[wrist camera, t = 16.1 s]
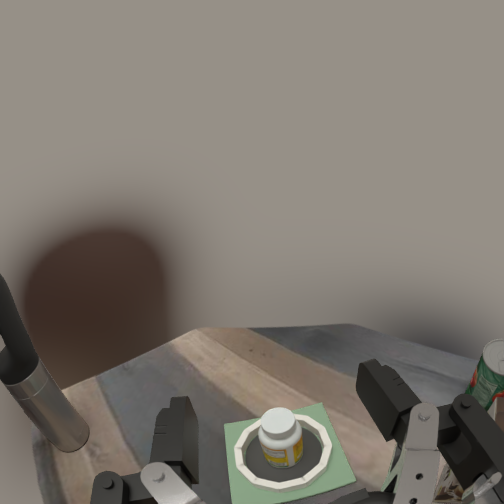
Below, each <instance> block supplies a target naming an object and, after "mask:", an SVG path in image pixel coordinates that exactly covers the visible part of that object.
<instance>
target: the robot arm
mask: <svg viewBox="0 0 504 504" xmlns="http://www.w3.org/2000/svg"><path fill="white" fill-rule="evenodd" d="M0 334H1V336H2V338H3V340H4V343H5V345H6V346H5V347H4V349H3V350H2V351H1V352H0V380H1V381H2V382H3V384H4V385H5V387H6V388H7V390H8V391H9V392H10V394H11V395H12V396H13V398H14V399H15V400H16V401H17V403H18V404H19V405H20V407H21V408H22V409H23V411H24V413H25V414H26V415H27V416H28V418H29V419H30V420H31V421H32V422H33V423H34V424H35V426H36V427H37V428H38V429H39V430H40V431H41V432H42V433H43V434H44V435H45V436H46V437H47V438H48V440H49V441H50V442H51V443H53V444H54V445H55V446H56V447H57V448H59V449H60V450H62V451H65V452H71V451H75V450H77V449H79V448H80V447H82V446H83V445H84V443H85V442H86V440H87V438H88V435H89V428H88V425H87V423H86V422H85V421H84V420H83V419H82V417H81V416H80V415H79V414H78V413H77V411H76V410H75V409H74V407H73V406H72V405H71V404H70V402H69V401H68V400H67V398H66V397H65V395H64V394H63V393H62V391H61V390H60V389H59V387H58V386H57V384H56V383H55V381H54V380H53V378H52V377H51V375H50V374H49V372H48V371H47V369H46V368H45V366H44V364H43V363H42V361H41V360H40V358H39V356H38V354H37V353H36V351H35V349H34V347H33V345H32V342H31V340H30V337H29V335H28V334H27V331H26V329H25V327H24V325H23V323H22V320H21V318H20V316H19V313H18V311H17V308H16V305H15V303H14V300H13V297H12V295H11V293H10V290H9V288H8V286H7V283H6V282H5V280H4V278H3V277H2V275H1V274H0ZM356 391H357V394H358V396H359V398H360V399H361V401H362V403H363V404H364V406H365V407H366V409H367V411H368V412H369V414H370V416H371V417H372V419H373V420H374V422H375V424H376V425H377V427H378V429H379V430H380V432H381V433H382V435H383V437H384V438H385V440H386V442H387V441H390V440H392V439H395V440H396V445H395V448H394V453H393V457H392V460H391V464H390V468H389V471H388V475H387V477H386V480H385V482H384V484H383V486H382V489H381V491H374V492H367V491H366V489H365V488H364V489H361V490H359V491H356V492H353V493H350V494H348V495H345V496H342V497H340V498H338V499H336V500H335V501H333V502H331V503H329V504H432V500H433V496H434V491H435V486H436V481H437V475H438V468H439V461H440V452H441V454H442V455H443V457H444V458H445V460H446V462H447V463H448V465H449V467H450V468H451V470H452V472H453V473H454V475H455V477H456V478H457V480H458V482H459V483H460V485H461V487H462V489H463V490H464V493H463V495H462V502H461V504H504V432H503V431H502V430H501V428H500V427H499V426H498V425H497V423H496V422H495V421H494V420H493V419H492V417H491V416H490V415H489V414H488V413H487V411H486V410H485V409H484V408H483V407H482V405H481V404H480V403H479V402H478V401H477V400H476V399H475V398H474V397H473V396H472V395H470V394H460V395H458V396H457V397H456V398H455V399H454V401H453V403H452V404H448V405H444V406H440V407H435V406H434V405H432V404H430V403H422V402H421V401H420V400H419V398H418V397H417V396H416V395H415V394H414V392H413V391H412V390H411V389H410V388H409V386H408V385H407V384H406V383H405V382H404V380H403V379H402V378H400V376H399V374H398V373H397V372H396V371H395V370H394V369H392V368H390V367H389V366H387V365H384V366H381V365H380V363H379V362H378V361H377V360H376V359H371V360H368V361H365V362H362V363H360V364H359V368H358V375H357V381H356ZM437 447H438V449H439V450H437ZM192 484H199V472H198V420H197V416H196V414H195V412H194V409H193V407H192V404H191V402H190V399H189V397H188V396H183V397H172V398H171V401H170V408H162V410H161V411H160V413H159V414H158V415H157V418H156V424H155V430H154V436H153V443H152V450H151V457H150V462H149V464H148V465H147V466H145V467H144V468H143V469H142V471H141V472H139V473H136V474H131V475H126V476H119V475H118V474H116V473H115V472H111V471H105V472H102V473H100V474H98V475H97V476H96V477H95V479H94V482H93V488H92V495H91V502H90V504H206V503H205V502H204V501H203V500H201V499H200V498H199V497H198V496H197V495H196V494H195V493H194V492H193V491H192Z"/></svg>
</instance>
